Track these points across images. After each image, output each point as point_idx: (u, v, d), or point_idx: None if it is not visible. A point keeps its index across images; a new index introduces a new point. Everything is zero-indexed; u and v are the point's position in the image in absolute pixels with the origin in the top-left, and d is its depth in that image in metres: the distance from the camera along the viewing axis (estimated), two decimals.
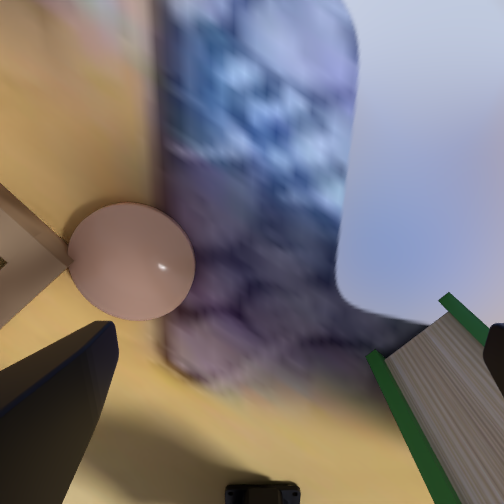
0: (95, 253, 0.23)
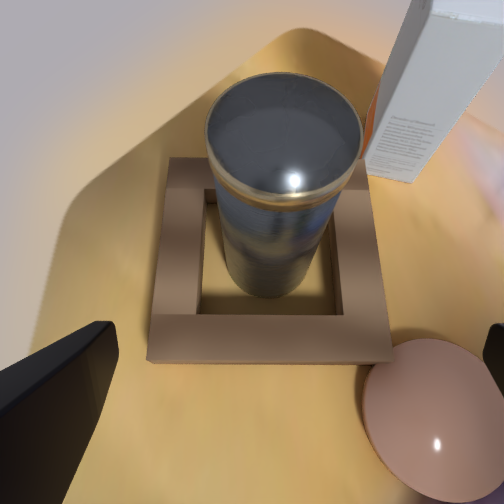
0: (414, 373, 0.20)
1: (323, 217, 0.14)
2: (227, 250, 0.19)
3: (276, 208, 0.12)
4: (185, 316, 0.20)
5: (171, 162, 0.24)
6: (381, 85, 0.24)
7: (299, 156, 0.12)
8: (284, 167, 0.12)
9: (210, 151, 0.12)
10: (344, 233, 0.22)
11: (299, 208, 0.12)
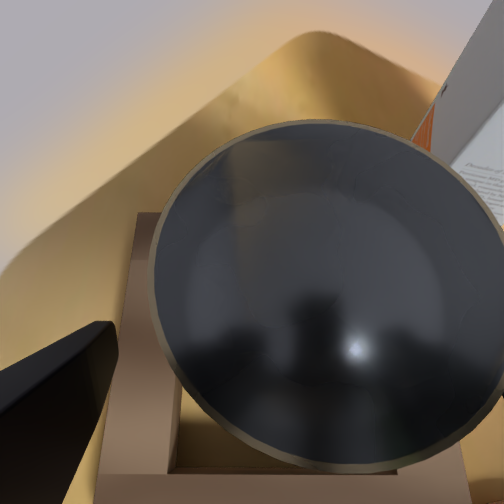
0: None
1: None
2: None
3: None
4: (150, 478, 0.13)
5: (140, 220, 0.17)
6: (439, 112, 0.17)
7: (375, 339, 0.05)
8: (342, 374, 0.05)
9: (158, 325, 0.05)
10: None
11: None
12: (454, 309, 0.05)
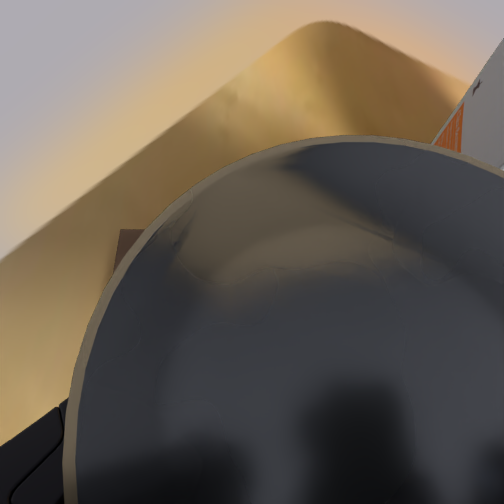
0: None
1: None
2: None
3: None
4: None
5: (122, 238, 0.15)
6: (472, 113, 0.14)
7: None
8: None
9: None
10: None
11: None
12: None
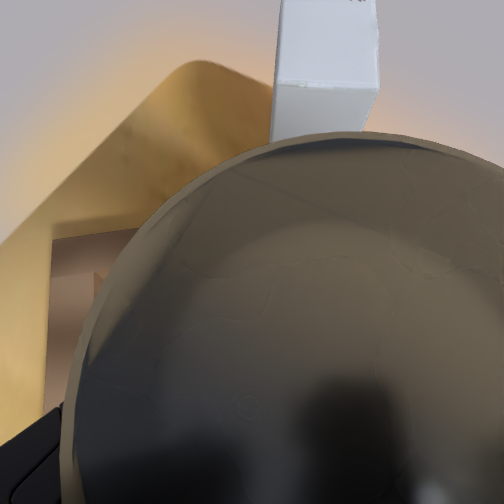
0: None
1: None
2: None
3: None
4: None
5: (54, 245, 0.22)
6: None
7: None
8: None
9: None
10: None
11: None
12: None
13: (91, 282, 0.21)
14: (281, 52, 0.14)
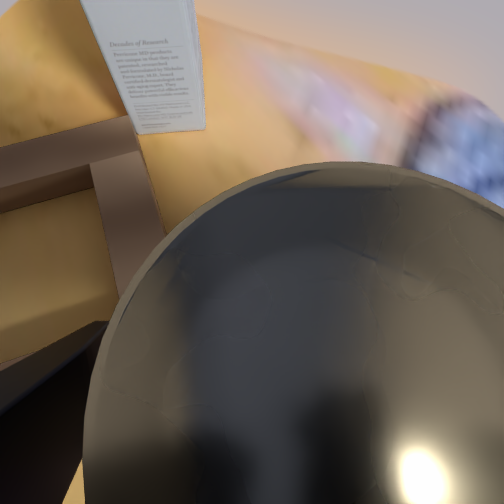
0: None
1: None
2: None
3: None
4: None
5: None
6: None
7: None
8: None
9: None
10: (112, 214, 0.17)
11: None
12: None
13: None
14: None
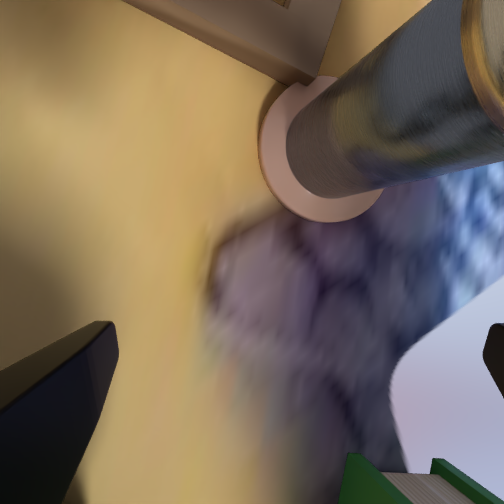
0: None
1: (484, 163, 0.11)
2: (325, 107, 0.15)
3: (492, 110, 0.09)
4: None
5: None
6: None
7: None
8: None
9: None
10: None
11: None
12: None
13: None
14: None
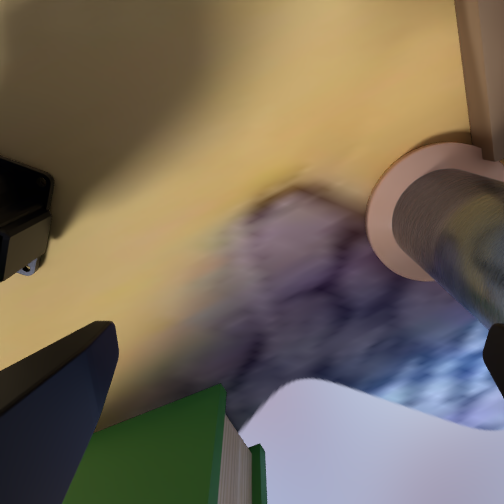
0: None
1: None
2: (470, 190, 0.15)
3: None
4: None
5: None
6: None
7: None
8: None
9: None
10: None
11: None
12: None
13: None
14: None
